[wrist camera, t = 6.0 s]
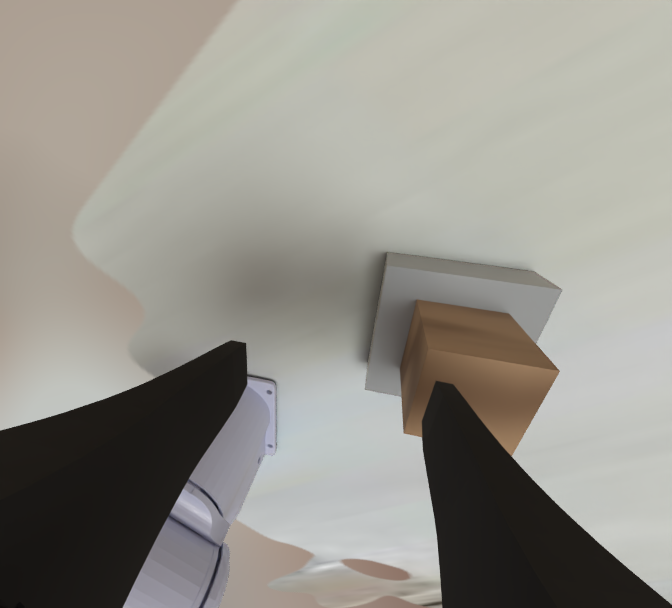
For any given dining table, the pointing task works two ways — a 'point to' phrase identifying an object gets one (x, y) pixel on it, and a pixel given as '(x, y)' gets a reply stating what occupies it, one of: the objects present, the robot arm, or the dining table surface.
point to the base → (449, 288)
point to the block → (474, 368)
